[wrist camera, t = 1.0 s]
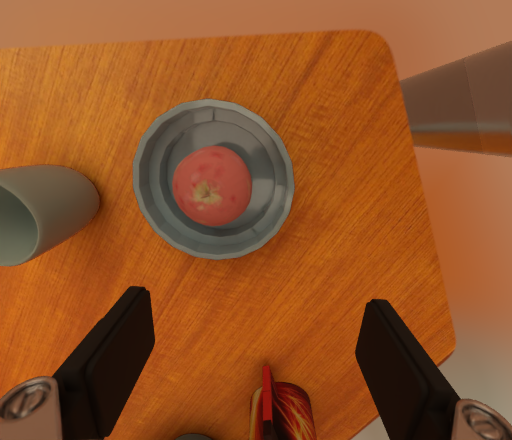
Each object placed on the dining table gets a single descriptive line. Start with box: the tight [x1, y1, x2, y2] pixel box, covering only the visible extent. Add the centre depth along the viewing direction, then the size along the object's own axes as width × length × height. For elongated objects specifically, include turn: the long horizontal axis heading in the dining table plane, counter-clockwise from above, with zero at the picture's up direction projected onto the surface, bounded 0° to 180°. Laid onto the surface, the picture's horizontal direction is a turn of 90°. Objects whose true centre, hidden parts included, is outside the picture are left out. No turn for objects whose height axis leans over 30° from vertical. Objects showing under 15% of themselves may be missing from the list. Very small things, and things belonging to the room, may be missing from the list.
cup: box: [0, 164, 100, 266], centre depth 25 cm, size 8×8×10 cm
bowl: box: [133, 99, 295, 260], centre depth 26 cm, size 15×15×5 cm
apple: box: [172, 145, 252, 226], centre depth 24 cm, size 7×7×8 cm
